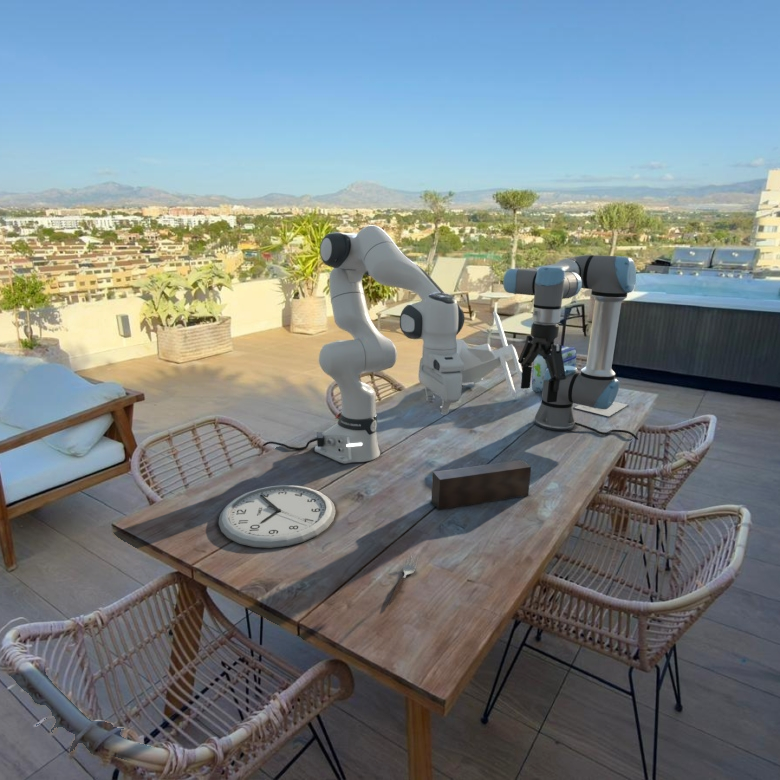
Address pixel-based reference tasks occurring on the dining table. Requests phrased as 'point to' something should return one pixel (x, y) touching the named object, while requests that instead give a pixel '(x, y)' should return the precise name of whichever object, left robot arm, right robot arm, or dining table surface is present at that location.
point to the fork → (407, 571)
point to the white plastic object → (488, 360)
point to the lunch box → (541, 367)
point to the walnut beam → (480, 484)
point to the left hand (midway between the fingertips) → (436, 407)
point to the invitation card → (607, 412)
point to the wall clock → (277, 516)
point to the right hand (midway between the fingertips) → (537, 394)
